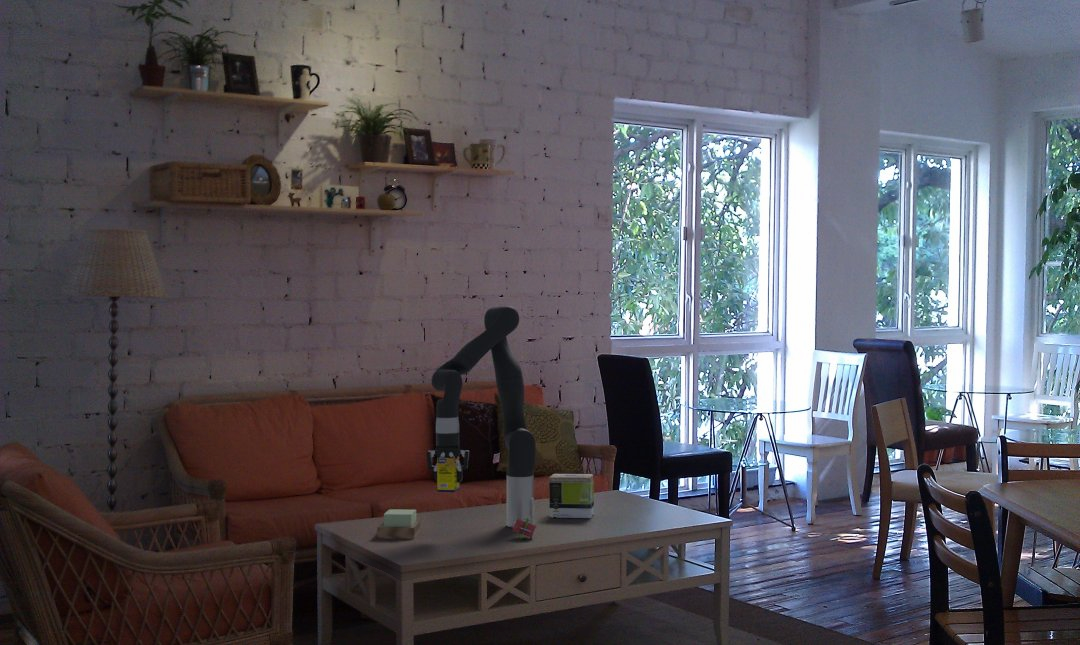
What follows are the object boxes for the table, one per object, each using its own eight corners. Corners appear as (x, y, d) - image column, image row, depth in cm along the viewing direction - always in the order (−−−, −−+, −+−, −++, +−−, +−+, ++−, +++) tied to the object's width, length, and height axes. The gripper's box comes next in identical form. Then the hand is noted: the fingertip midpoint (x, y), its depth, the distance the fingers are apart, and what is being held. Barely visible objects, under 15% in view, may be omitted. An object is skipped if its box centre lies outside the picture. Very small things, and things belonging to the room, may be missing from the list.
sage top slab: (416, 521, 357) (416, 509, 357) (411, 526, 348) (411, 514, 348) (389, 521, 358) (389, 509, 358) (383, 526, 349) (383, 514, 349)
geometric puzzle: (538, 529, 352) (524, 509, 351) (542, 533, 345) (527, 513, 344) (521, 543, 351) (506, 523, 350) (524, 547, 344) (509, 527, 343)
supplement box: (455, 492, 346) (454, 458, 346) (437, 492, 347) (436, 458, 347) (459, 489, 352) (459, 456, 352) (442, 489, 353) (441, 456, 353)
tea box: (594, 514, 391) (594, 473, 391) (590, 519, 381) (590, 477, 381) (553, 513, 394) (553, 472, 394) (548, 518, 384) (548, 476, 384)
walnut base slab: (420, 533, 359) (420, 520, 359) (414, 540, 347) (414, 527, 347) (384, 532, 359) (384, 520, 359) (377, 539, 347) (377, 527, 347)
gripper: (471, 429, 353) (471, 480, 353) (427, 430, 354) (428, 481, 354) (468, 432, 346) (469, 484, 346) (423, 432, 346) (424, 484, 346)
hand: (448, 482), depth 350 cm, fingers closed on supplement box, 6 cm apart
